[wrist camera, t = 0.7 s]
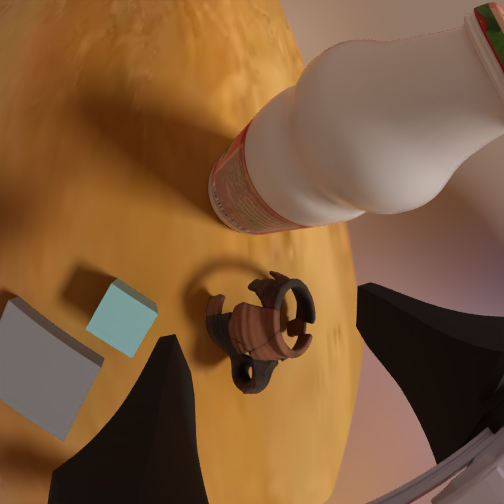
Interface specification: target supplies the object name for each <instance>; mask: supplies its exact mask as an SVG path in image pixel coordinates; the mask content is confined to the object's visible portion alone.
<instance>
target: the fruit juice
mask: <svg viewBox="0 0 504 504" xmlns="http://www.w3.org/2000/svg"><path fill="white" fill-rule="evenodd" d="M502 134H504V10H503V9H502V8H501V7H500V6H499V5H498V4H497V3H487V4H484V5H481V6H479V7H476V8H474V11H472V12H471V14H469V13H468V14H466V16H465V18H464V24H463V25H462V26H460V27H458V28H455V29H451V30H447V31H442V32H437V33H432V34H427V35H422V36H417V37H411V38H405V39H399V40H393V41H376V40H350V41H346V42H342V43H339V44H336V45H334V46H332V47H330V48H328V49H326V50H325V51H323V52H322V53H321V54H320V55H318V56H317V57H316V58H315V59H313V60H312V61H311V62H310V63H309V64H308V65H307V67H306V68H305V69H304V71H303V72H302V74H301V76H300V78H299V80H298V81H297V84H296V85H294V86H292V87H289V88H287V89H286V90H284V91H282V92H281V93H279V94H278V95H276V96H275V97H274V98H273V99H271V100H270V101H269V102H268V103H267V104H266V105H265V106H264V107H263V108H262V109H261V110H260V111H259V112H258V113H257V114H256V116H255V117H254V118H253V119H252V120H251V122H250V123H249V124H248V125H247V126H246V127H245V128H244V129H243V131H242V132H241V133H240V134H239V135H238V136H237V137H236V139H235V140H234V141H233V142H232V143H231V145H230V146H229V147H228V148H227V149H226V150H225V152H224V153H223V154H222V155H221V156H220V158H219V159H218V160H217V162H216V163H215V165H214V166H213V169H212V171H211V174H210V177H209V183H208V193H209V199H210V202H211V205H212V207H213V209H214V211H215V213H216V214H217V216H218V217H219V218H220V219H221V221H222V222H223V223H225V224H226V225H227V226H228V227H230V228H232V229H233V230H235V231H238V232H240V233H244V234H249V235H263V234H269V233H276V232H283V231H290V230H297V229H304V228H311V227H320V226H328V225H333V224H337V223H341V222H345V221H348V220H351V219H353V218H355V217H358V216H360V215H361V214H363V213H365V212H371V213H379V214H395V213H400V212H404V211H409V210H412V209H415V208H417V207H420V206H422V205H424V204H426V203H427V202H429V201H430V200H431V199H433V198H434V197H435V196H436V195H437V194H438V193H439V192H440V191H441V190H442V188H443V187H444V186H445V184H446V183H447V181H448V180H449V178H450V177H451V176H452V174H453V173H454V171H455V170H456V169H457V168H458V167H459V165H460V164H461V163H462V162H463V161H465V160H466V159H467V158H468V157H469V156H470V155H471V154H473V153H474V152H476V151H477V150H479V149H480V148H481V147H483V146H484V145H486V144H487V143H489V142H490V141H492V140H493V139H495V138H496V137H498V136H500V135H502Z"/></svg>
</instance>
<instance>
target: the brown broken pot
mask: <svg viewBox="0 0 504 504" xmlns="http://www.w3.org/2000/svg"><path fill="white" fill-rule="evenodd" d="M269 273H270V275H272V276H273V277H274V278H275V280H274V279H268V278H267V279H263V280H259V279H256V280H254V281H253V282H251V283H250V284H249V286H248V289H249V290H251V291H254V292H255V293H256V295H257V296H258V297H259V299H260V300H261V303H262V305H263V307H259V306H254V305H251V304H248V303H245V302H242V303H240V304H238V305H236V306H235V308H234V310H233V312H232V313H231V312H229V313H225V314H221V312H222V307H223V303H224V299H225V296H224V295H222V294H219V295H217V296H212V297H211V298H210V300H209V302H208V305H207V310H206V325H207V330H208V333H209V335H210V337H211V339H212V340H213V342H214V343H215V344H216V345H218V346H219V347H220V348H222V349H223V350H224V351H225V352H226V353H227V354H228V355H230V359H231V366H232V378H233V381H234V383H235V385H236V387H237V388H238V389H240V390H241V391H242V392H243V393H244V394H253V393H254V394H257V393H259V392H261V391H262V390H264V389H265V388H266V386H267V385H268V383H269V380H270V378H271V375H272V372H273V370H274V368H275V367H276V366H277V365H278V361H277V360H281V361H284V360H286V359H288V358H296V357H299V356H301V355H302V354H303V353H304V352H305V351H306V350H307V348H308V347H309V345H310V343H311V340H312V335H311V334H305V332H306V322H307V323H311V324H313V323H314V321H315V307H314V302H313V298H312V296H311V294H310V292H309V290H308V288H307V286H306V285H305V284H304V283H303V282H302V281H301V280H298V279H289V278H288V277H286V276H284V275H282V274H280V273H278V272H274V271H270V272H269ZM290 288H291V289H292V291H293V293H294V295H295V298H296V301H297V311H296V318H295V319H293V320H291V321H289V322H288V323H287V334H288V336H290V337H294V336H298V339H297V341H296V343H295V345H294V347H293V348H292V349H290V348H289V347H288V346H287V345H286V343H285V342H284V339H283V337H282V334H281V331H280V320H279V314H280V311H279V310H280V307H281V303H282V300H283V297H284V295H285V294H286V292H287V291H288V290H289V289H290ZM247 352H249V355H250V356H249V355H246V354H244V353H247ZM250 367H252V378H250V376H249V372H248V370H249V368H250Z"/></svg>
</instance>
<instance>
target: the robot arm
mask: <svg viewBox="0 0 504 504" xmlns="http://www.w3.org/2000/svg"><path fill="white" fill-rule="evenodd" d="M356 327H357V329H358V331H359V332H360V334H361V336H362V338H363V339H364V341H365V343H366V344H367V346H368V347H369V348H370V350H371V351H372V352H373V353H374V355H375V356H376V357H377V358H378V360H379V361H380V362H381V363H382V365H383V366H384V367H385V368H386V370H387V371H388V372H389V373H390V375H391V376H392V377H393V378H394V380H395V381H396V382H397V384H398V385H399V386H400V388H401V390H402V391H403V393H404V395H405V396H406V398H407V400H408V401H409V403H410V405H411V407H412V408H413V410H414V412H415V414H416V416H417V418H418V420H419V422H420V424H421V426H422V428H423V430H424V432H425V435H426V437H427V439H428V441H429V444H430V447H431V449H432V452H433V455H434V457H435V460H436V463H437V465H436V466H435V467H433V468H431V469H430V470H428V471H427V472H425V473H423V474H422V475H420V476H418V477H417V478H415V479H413V480H411V481H410V482H408V483H406V484H404V485H403V486H401V487H399V488H397V489H395V490H393V491H391V492H389V493H387V494H385V495H383V496H381V497H379V498H377V499H375V500H373V501H371V502H368V503H366V504H410V503H412V502H414V501H415V500H417V499H419V498H421V497H422V496H424V495H425V494H427V493H429V492H430V491H432V490H433V489H435V488H436V487H438V486H440V485H441V484H442V483H444V482H445V481H447V480H448V479H450V478H451V477H452V476H454V475H455V474H457V473H458V472H459V471H461V470H462V469H463V468H465V467H466V466H467V465H468V466H467V468H466V469H465V470H464V471H463V472H461V473H460V474H459V475H458V476H456V477H455V478H454V479H453V480H451V482H450V483H449V484H448V485H447V486H446V487H445V488H444V489H443V490H442V491H441V492H440V493H439V494H437V496H435V497H434V498H432V500H431V502H432V504H504V317H495V316H482V315H475V314H468V313H462V312H458V311H454V310H449V309H445V308H442V307H438V306H435V305H432V304H429V303H425V302H423V301H420V300H417V299H414V298H412V297H409V296H406V295H404V294H401V293H399V292H396V291H393V290H391V289H388V288H386V287H383V286H380V285H377V284H374V283H367V284H364V285H360V286H358V291H357V319H356ZM48 504H209V502H208V499H207V495H206V491H205V486H204V482H203V478H202V473H201V468H200V463H199V457H198V451H197V441H196V421H195V397H194V389H193V382H192V376H191V371H190V369H189V367H188V364H187V362H186V359H185V357H184V355H183V352H182V350H181V347H180V345H179V342H178V340H177V337H176V334H173V335H169V336H164V337H160V338H159V339H158V341H157V343H156V345H155V347H154V349H153V351H152V353H151V355H150V357H149V359H148V361H147V363H146V365H145V367H144V369H143V371H142V372H141V374H140V376H139V378H138V380H137V381H136V383H135V385H134V386H133V388H132V390H131V391H130V393H129V395H128V396H127V398H126V399H125V401H124V402H123V404H122V405H121V407H120V408H119V409H118V411H117V412H116V413H115V415H114V416H113V417H112V418H111V419H110V421H109V422H108V423H107V424H106V425H105V426H104V427H103V428H102V430H101V431H100V432H99V433H98V434H97V435H96V436H95V437H94V438H93V439H92V440H91V441H90V442H89V443H88V444H87V445H86V446H85V447H84V448H82V449H81V450H80V451H79V452H78V453H77V454H76V455H74V456H73V457H72V458H70V459H69V460H68V461H66V462H65V463H64V464H62V465H61V466H60V467H58V468H57V469H55V470H54V471H53V474H52V479H51V485H50V491H49V498H48Z"/></svg>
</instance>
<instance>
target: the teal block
mask: <svg viewBox="0 0 504 504" xmlns="http://www.w3.org/2000/svg"><path fill="white" fill-rule="evenodd" d="M157 315H158V310H157V305H156V303H154V302H153V301H151V300H150V299H148V298H146V297H145V296H143V295H142V294H140V293H139V292H137V291H136V290H134V289H133V288H131V287H130V286H128V285H127V284H125V283H124V282H122V281H121V280H119V279H118V278H117V279H116V280H115V281H114V282H113V283H111V285H110V287H109V289H108V290H107V292H106V294H105V295H104V297H103V299H102V301H101V302H100V304H99V306H98V308H97V310H96V311H95V313H94V315H93V317H92V319H91V321H90V322H89V324H88V326H87V328H86V330H87V331H89V332H91V333H92V334H94V335H95V336H97V337H98V338H100V339H101V340H103V341H104V342H106V343H108V344H109V345H111V346H112V347H114V348H116V349H117V350H119V351H121V352H122V353H124V354H126V355H127V356H129V357H131V358H132V357H133V356H134V354H135V352H136V350H137V349H138V347H139V345H140V344H141V342H142V340H143V338H144V337H145V335H146V333H147V332H148V330H149V328H150V327H151V325H152V323H153V322H154V320H155V318H156V317H157Z"/></svg>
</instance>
